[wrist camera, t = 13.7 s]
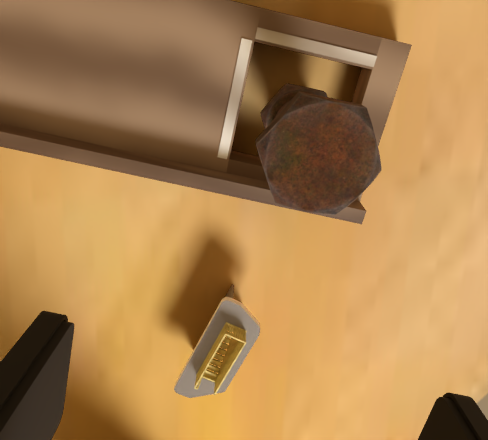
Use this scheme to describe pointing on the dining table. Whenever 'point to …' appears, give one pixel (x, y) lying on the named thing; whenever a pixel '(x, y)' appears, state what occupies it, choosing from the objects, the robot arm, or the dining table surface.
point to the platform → (219, 350)
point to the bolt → (316, 150)
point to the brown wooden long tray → (163, 85)
